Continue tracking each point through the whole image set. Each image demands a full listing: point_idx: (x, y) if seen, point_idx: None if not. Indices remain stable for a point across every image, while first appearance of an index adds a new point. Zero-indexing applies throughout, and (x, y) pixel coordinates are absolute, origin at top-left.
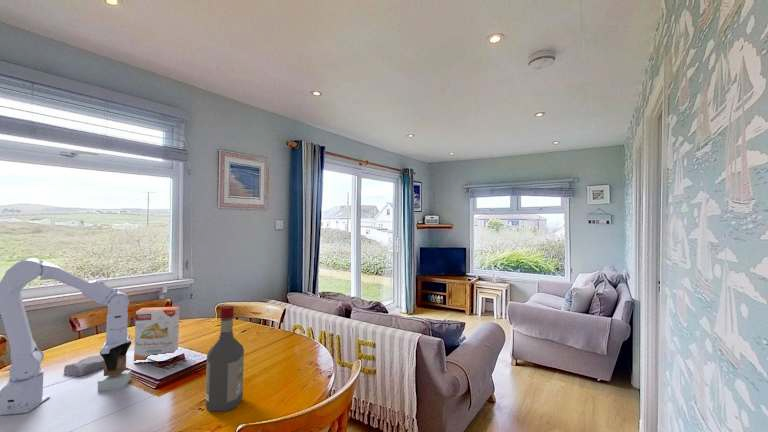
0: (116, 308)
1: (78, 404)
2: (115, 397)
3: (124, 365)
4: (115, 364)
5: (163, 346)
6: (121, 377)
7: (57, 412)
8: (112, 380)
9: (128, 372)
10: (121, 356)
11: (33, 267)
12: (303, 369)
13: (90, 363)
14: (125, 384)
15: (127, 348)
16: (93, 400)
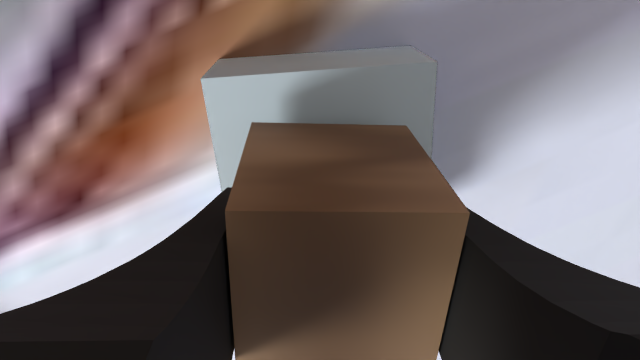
0: None
1: (578, 227)
2: (583, 29)
3: (289, 146)
4: (485, 219)
5: None
6: (398, 94)
7: (633, 280)
8: (430, 152)
9: (269, 79)
10: (283, 257)
11: None
12: None
13: None
14: (356, 50)
15: (153, 291)
16: (559, 168)
